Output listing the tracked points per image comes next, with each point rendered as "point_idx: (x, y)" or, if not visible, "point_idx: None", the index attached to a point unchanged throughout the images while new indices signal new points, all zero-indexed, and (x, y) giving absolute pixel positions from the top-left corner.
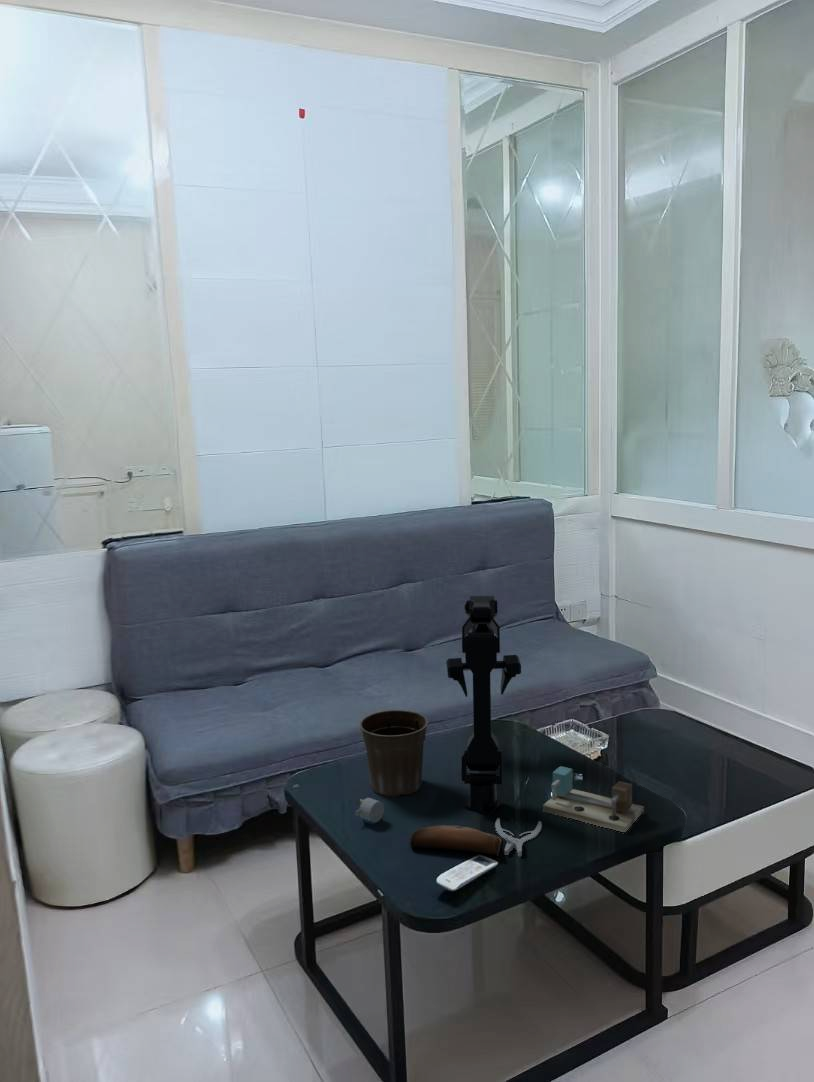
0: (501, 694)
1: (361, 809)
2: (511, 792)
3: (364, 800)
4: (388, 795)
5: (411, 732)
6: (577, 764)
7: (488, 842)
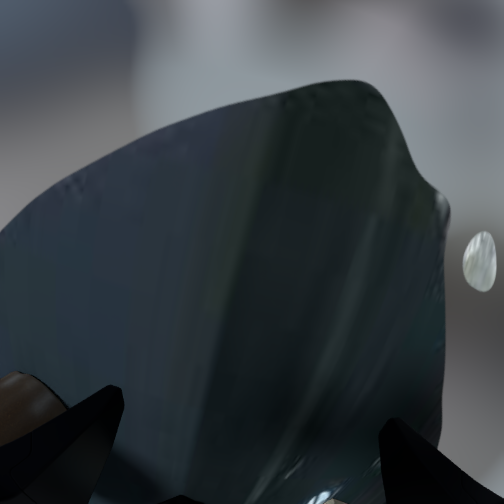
0: (380, 438)
1: None
2: (244, 495)
3: None
4: None
5: (3, 444)
6: (421, 413)
7: None
